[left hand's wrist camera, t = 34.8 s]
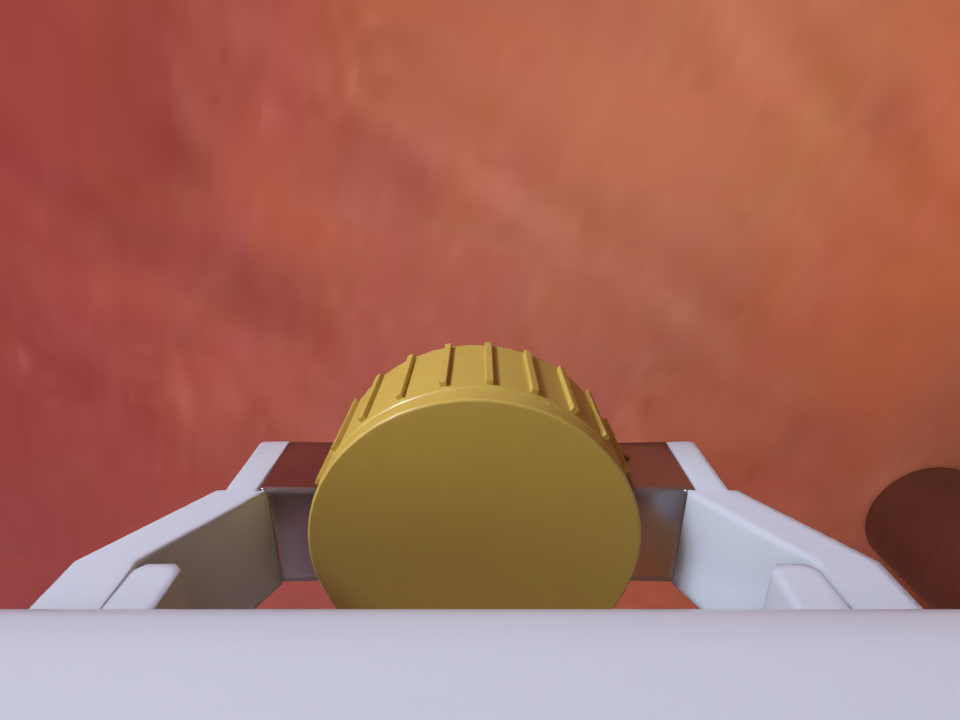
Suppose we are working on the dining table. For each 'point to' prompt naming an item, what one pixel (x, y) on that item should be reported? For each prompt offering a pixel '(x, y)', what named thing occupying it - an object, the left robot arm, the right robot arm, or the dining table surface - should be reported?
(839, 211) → the dining table surface
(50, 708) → the left robot arm
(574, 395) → the lid
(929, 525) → the grey metal cylinder
